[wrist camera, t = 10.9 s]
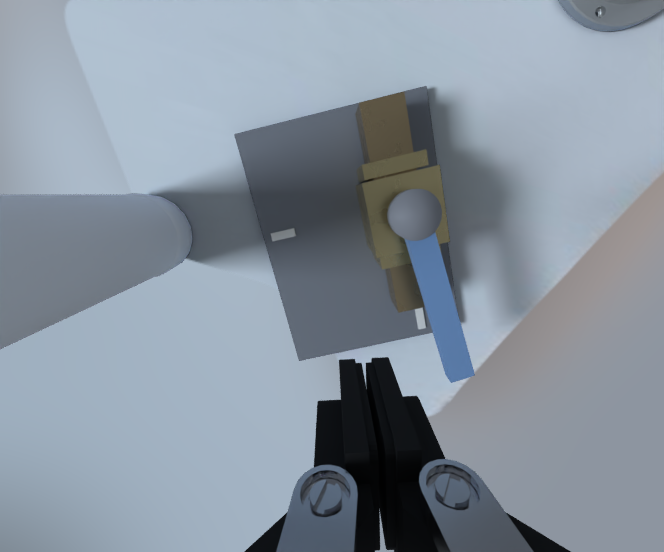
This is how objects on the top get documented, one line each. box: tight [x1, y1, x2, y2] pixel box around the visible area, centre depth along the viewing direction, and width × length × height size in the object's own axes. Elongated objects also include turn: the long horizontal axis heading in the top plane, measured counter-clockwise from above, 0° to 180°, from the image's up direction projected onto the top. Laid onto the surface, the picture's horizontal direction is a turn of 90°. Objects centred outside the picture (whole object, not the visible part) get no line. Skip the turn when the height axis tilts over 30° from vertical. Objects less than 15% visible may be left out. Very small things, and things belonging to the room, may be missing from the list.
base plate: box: [234, 86, 457, 361], centre depth 32 cm, size 18×24×1 cm
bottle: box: [0, 193, 192, 349], centre depth 18 cm, size 8×8×30 cm
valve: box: [355, 92, 450, 313], centre depth 28 cm, size 6×18×8 cm, turn 13°
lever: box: [387, 189, 475, 383], centre depth 24 cm, size 16×4×1 cm, turn 20°
